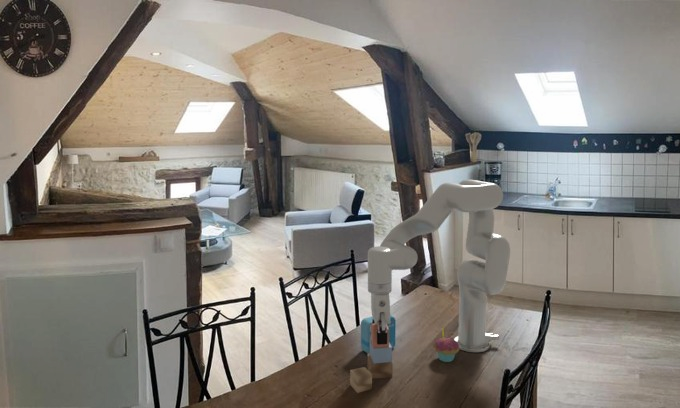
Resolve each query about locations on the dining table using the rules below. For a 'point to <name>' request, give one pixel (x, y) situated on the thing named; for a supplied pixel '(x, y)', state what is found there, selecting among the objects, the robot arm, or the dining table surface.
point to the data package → (367, 333)
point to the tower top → (381, 354)
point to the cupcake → (446, 348)
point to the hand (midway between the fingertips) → (379, 337)
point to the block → (360, 379)
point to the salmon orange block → (374, 336)
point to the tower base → (380, 369)
